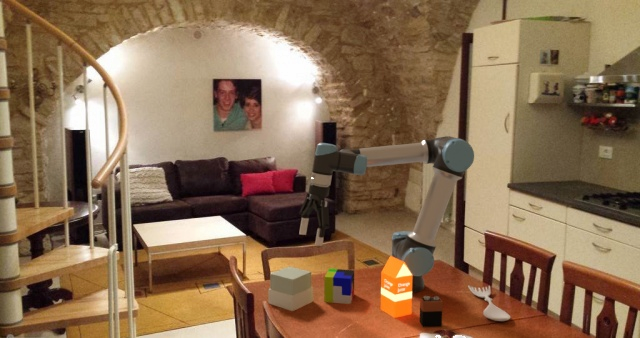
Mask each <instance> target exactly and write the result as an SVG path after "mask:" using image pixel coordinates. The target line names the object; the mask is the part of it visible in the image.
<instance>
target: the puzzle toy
mask: <svg viewBox="0 0 640 338" xmlns="http://www.w3.org/2000/svg"><path fill="white" fill-rule="evenodd" d="M323 284H324V292H323V293H324V297H323V298H324V303H333V304H334V303H335V304H336V303H337V304H345V305H346V304H347V305H351V304H352V301H353V298H354V296H355V270H354V269H353V270H352V269H341V268H339V269H337V268H329V269H328V270H327V272H326V273H325V275H324V283H323Z"/></svg>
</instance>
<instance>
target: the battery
mask: <svg viewBox="0 0 640 338" xmlns="http://www.w3.org/2000/svg"><path fill="white" fill-rule="evenodd" d="M419 323H420V325H421V326H422V328H436V327H437V328H438V327H440V328H441V327H442V325H443V324H442V323H443V301H442V299H441V298H440V297H439V296H437V295H435V296H433V297H431V296H428V295H424V296H423V297H420V298H419Z"/></svg>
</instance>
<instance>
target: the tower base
mask: <svg viewBox="0 0 640 338" xmlns="http://www.w3.org/2000/svg"><path fill="white" fill-rule="evenodd" d="M267 298H268V304H269V305H272V306H276V307H279V308H282V309H284V310H288V311H291V312H294V311H295V310H298V309H300V308H302V307H304V306H306V305H309V304H310V303H312V302H314V287H313V286H311V287H310V288H308V289H306V290H304V291H302V292H299V293H297V294H295V295H290V294H286V293H283V292H279V291H276V290H272V289H270V287H269V288H268V297H267Z"/></svg>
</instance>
